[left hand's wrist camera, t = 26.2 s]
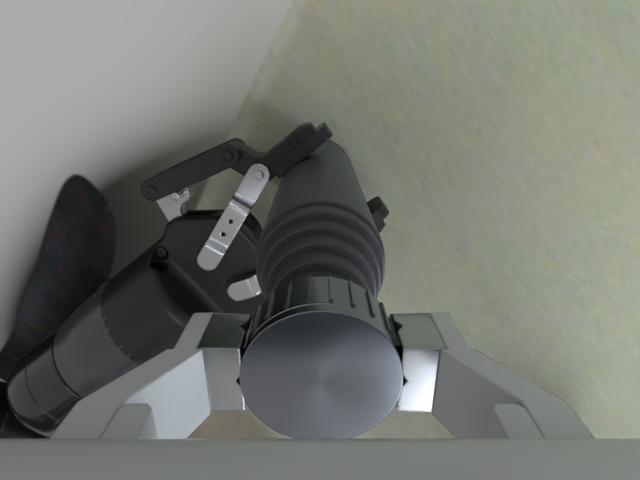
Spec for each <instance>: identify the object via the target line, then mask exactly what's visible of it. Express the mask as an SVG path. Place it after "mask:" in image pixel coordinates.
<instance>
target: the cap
mask: <svg viewBox="0 0 640 480" xmlns="http://www.w3.org/2000/svg"><path fill="white" fill-rule="evenodd" d="M398 348H399V342H398V339H397V335H396V331H395V328H394V325H393V322H392V319H391V318H389V317H388V315H387V313H386V311H385V307H384V304H383V303H382V302H381V303H380V302H379V301H378V300H377V299H376V298H375V297H374V296H373V295H372V294H371V292H370V290H368V289H367V290H365V289H364V288H362V287H360V286H359V285H357V284H354V283H353V281H351V280H349V281H347V280H343V279H340V278H334V277H332V276H329V277H323V276H320V277H311V276H307V278H303V279H299V280H296V281H293V282H290V281H289V282H287V284H286V285H284V286H282V287H280V288H279V289H277V290H276V291H274V292H273V291H272V292H270V295H269V296H268V297H267V298H266V299H265V301H264V302H263V303H262V304H261V305H258V306H257V309H256V313H255V316H254V319H253V321H251V325H250V328H249V330H247V333H246V342H245V346H244V354H243V357H242V361H241V365H240V372H239V382H240V387H241V391H242V394H243V397H244V399H245V401H246V403H247V405H248V407H249V408H250V409H251V411H252V412H253V413H254V414H255V416H256V417H257V418H258V419H259V420H260V421H262V422H263V423H264V424H265V425H267V426H268V427H270V428H271V429H273V430H275V431H277V432H279V433H281V434H283V435H285V436H288V437H291V438H294V439H348V438H352V437H355V436H357V435H360V434H362V433H364V432H366V431H368V430H370V429H371V428H373V427H375V426H376V425H377V424H379V423H380V422H381V421H382V420H383V419H384V418H385V417H386V416H387V415H388V414H389V413H390V412H391V410H392V409H393V408H394V406H395V405H396V403H397V401H398V399H399V396H400V394H401V391H402V386H403V377H404V376H403V366H402V361H401V358H400V354H399V351H398Z"/></svg>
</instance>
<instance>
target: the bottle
mask: <svg viewBox="0 0 640 480" xmlns="http://www.w3.org/2000/svg"><path fill="white" fill-rule="evenodd" d="M384 270H385V254H384V247H383V243H382V240H381V238H380V235H379V233H378V230H377V228H376V225H375V223H374V220H373V217H372V215H371V212H370V210H369V207H368V205H367V202H366V200H365V197H364V195H363V192H362V190H361V187H360V184H359V182H358V179H357V177H356V174H355V172H354V169H353V167H352V164H351V162H350V159H349V157H348V155H347V153H346V152H345V151H344V150H343V149H342V148H341V147H340V146H339V145H337V144H336V143H334V142H332V141H329V140H327V141H326V142H325V143H324V144H322V145H321V146H320V147H318V148H317V149H316V150H315V151H313V152H312V153H311V154H309V155H308V156H307V157H306V158H304V159H303V160H302V161H301V162H299V163H298V164H297V165H295V166H294V167H293V168H291V169H290V170H289V171H288V172H287V173H285V174H284V175H283V177H282V180H281V182H280V185H279V188H278V190H277V193H276V196H275V199H274V201H273V204H272V207H271V209H270V212H269V215H268V217H267V220H266V223H265V226H264V228H263V231H262V234H261V236H260V239H259V242H258V245H257V250H256V276H257V280H258V284H259V287H260V289H261V292H262V294H263V297H264V299H266V298H267V297H268V296H269V295H270V292H272V291H273V292H274V291H276V290H277V289H279V288H280V287H282V286H284V285H286V284H287V282H289V281H290V282H293V281H296V280H299V279H303V278H307V276H311V277H320V276H323V277H329V276H332V277H334V278H340V279H343V280H347V281H349V280H351V281H353V283H354V284H357V285H359V286H360V287H362V288H364V289H365V290H367V289H368V290H370V292H371V294H372V295H373V296H374V297H375V298H377V296H378V293H379V291H380V289H381V286H382V283H383V278H384Z"/></svg>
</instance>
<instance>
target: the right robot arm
mask: <svg viewBox="0 0 640 480" xmlns="http://www.w3.org/2000/svg"><path fill="white" fill-rule="evenodd" d="M331 137H332V132H331V130H330V129H329V128H328V126H327V125H326V124H325V122H324V123H322V124H321V125H320V126H318V127H317V128H315V127H314V125H313V124H312V123H311V122H308V123H304V124H301V125H300V126H299V127H298V128H296V129H295V130H294V131H293V132H292V133H290V134H289V135H288V136H287V137H285V138H284V139H283V140H282V141H280V142H279V143H278V144H277V145H276V146H274V147H273V148H272V149H271V150H269V151H267V152H264V153H260V152H256V151H254V150H253V149H251V148H249V147H248V146H246V144H245V143H244V141H242V140H241V139H238V138H234V139H231V140H229V141H227V142H224V143H222V144H220V145H218V146H216V147H214V148H211V149H209V150H207V151H205V152H203V153H201V154H198V155H196V156H194V157H192V158H190V159H188V160H185V161H183V162H181V163H179V164H177V165H175V166H172V167H170V168H168V169H166V170H164V171H162V172H160V173H158V174H156V175H155V176H153V177H151V178H150V179H148V180H146V181H144V182H143V183H142V185H141V192H142V194H143V196H144V197H145V198H146V199H148V200H151V201H157V203H158V205H159V206H160V208H161V209H162V211H163V213H164V214H165V216H166V218H167V219H168V221H169V223H168V224H167V226H166V228H165V232H164V235H163V237H162V238H161V239H160V240H159V241H158V242H156V243H155V244H154V245H153V246H151V247H150V248H149V249H148V250H146V251H145V252H144V253H143V254H141V255H140V256H139V257H138V258H137V259H135V260H134V261H133V262H132V263H130V264H129V265H128V266H127V267H126V268H124V269H123V270H122V271H121V272H119V273H118V274H117V275H116V276H115V277H113V278H111V279H109V280H108V281H106V282H105V283H103V284H102V285H101V286H100V287H99V289H98V290H97V291H96V292H95V293H93V294H92V295H91V296H90V297H88V298H87V299H86V300H85V301H84V302H83V303H82V304H81V305H80V306H79V307H78V308H77V309H76V310H75V311H74V312H73V314H72V315H71V316H70V317H69V318H68V319H67V320H66V321H65V322H64V323H62V324H61V325H60V326H59V327H57V328H56V329H55V330H54V331H53V332H51V333H50V334H49V335H48V336H46V337H45V338H44V339H43V340H41V341H40V342H39V343H38V344H36V345H35V346H34V347H33V348H32V349H30V350H29V351H28V352H27V353H26V354H25V355H24V356H23V357H22V358H21V359H20V360H19V361H18V362H17V363H16V365H15V366H14V368H13V369H12V371H11V373H10V375H9V378H8V381H7V383H5V382H1V381H0V439H49V438H50V437H51V435H52V434H53V433H54V432H55V430H56V429H57V428H58V426H59V425H60V424H61V422H62V421H63V420H64V419H65V417H66V416H67V415H68V413H69V412H70V411H71V409H72V408H73V407H74V405H75V404H76V403H77V402H78V401H80V400H81V399H83V398H85V397H87V396H88V395H90V394H92V393H93V392H95V391H97V390H99V389H100V388H102V387H104V386H105V385H107V384H109V383H111V382H112V381H114V380H116V379H117V378H119V377H121V376H123V375H124V374H126V373H128V372H129V371H131V370H133V369H135V368H136V367H138V366H140V365H141V364H143V363H145V362H147V361H148V360H150V359H152V358H153V357H155V356H157V355H159V354H160V353H162V352H164V351H165V350H167V349H174V347H175V345H176V343H177V342H178V340H179V338H180V336H181V334H182V333H183V331H184V329H185V327H186V325H187V324H188V322H189V320H190V318H191V317H192V315H193V314H194V313H211V312H213V313H252V315H253V319H254V316H255V313H256V309H257V306H258V305H261V304H262V303H263V302H264V301H265V299H264V297H263V294H262V292H261V289H260V287H259V284H258V280H257V276H256V250H257V245H258V242H259V239H260V236H261V234H262V231H263V230H262V228H261V226H260V224H259V222H258V221H257V219H256V218H255V217H254V216H253V215H252V214H251V213H249V212H250V210H251V209H252V207H253V205H254V204H255V202H256V200H257V199H258V197H259V195H260V194H261V192H262V190H263V189H264V187H265V185H266V184H267V182H268V181H270V180H271V179H272V178H274V177H275V176H277V177H278V178H280V177H281V176H283V175H284V174H285V173H287V172H288V171H289V170H290V169H291V168H293V167H294V166H295V165H297V164H298V163H299V162H301V161H302V160H303V159H304V158H306V157H307V156H308V155H309V154H311V153H312V152H313V151H315V150H316V149H317V148H318V147H320V146H321V145H322V144H324V143H325V142H326V141H327V140H328V139H330V138H331ZM230 167H231V168H232V169H234V170H236V171H237V172H239V173H241V174H242V175H244V176H245V177H244V178H243V180H242V182H241V184H240V185H239V187H238V189H237V191H236V192H235V194H234V196H233V197H232V199H231V200H230V202H229V204H228V205H227V207H226V209H225V210H191V211H187V210H186V208H185V203H186V201H187V200H188V199H189V198H190V197H191V196H192V195H193V194H194V187H193V184H195V183H197V182H199V181H201V180H204V179H206V178H208V177H210V176H212V175H215V174H217V173H219V172H221V171H224V170H226V169H228V168H230ZM367 205H368V207H369V210H370V212H371V215H372V217H373V220H374V223H375V225H376V228H377V230H378V233H380V232H381V230H382V229H383V227H384V226H385V223H384V221H383V219H384V218H385V217H387V215H388V214H389V211H388V209H387V207H386V205H385V204H384V203H383V201H382V200H381V199H380V197H375V198H373V199H372V200H370V201H369V202H367Z"/></svg>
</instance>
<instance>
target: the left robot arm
mask: <svg viewBox="0 0 640 480" xmlns="http://www.w3.org/2000/svg"><path fill="white" fill-rule="evenodd" d="M389 318H391V319H392V322H393V325H394V328H395V331H396V335H397V339H398V342H399V348H398V351H399V354H400V358H401V361H402V366H403V376H404V377H403V386H402V391H401V394H400V396H399V399H398V401H397V403H396V407H397V411H419V412H432V414H433V415H434V416H435V417H436V418H437V419H438V420H439V421H440V422H441V423H442V424H443V425H444V426H445V427H446V428H447V429H448V430H449V431H450V432H451V433H452V434H453V435H454V436H455V437H456V438H457V439H186V438H187V437H188V436H189V435H190V434H191V433H192V432H193V431H194V430H195V429H196V428H197V427H198V426H199V425H200V424H201V423H202V422H203V421H204V420H205V419H206V418H207V417H208V416H209V415H210V412H224V411H246V406H247V403H246V401H245V399H244V397H243V394H242V391H241V387H240V382H239V372H240V365H241V361H242V357H243V354H244V346H245V342H246V333H247V330H249V328H250V325H251V321H253V315H252V313H213V312H211V313H194V314H193V315H192V317H191V318H190V320H189V322H188V324H187V325H186V327H185V329H184V331H183V333H182V334H181V336H180V338H179V340H178V342H177V343H176V345H175V347H174V349H167V350H165V351H164V352H162V353H160V354H159V355H157V356H155V357H153V358H152V359H150V360H148V361H147V362H145V363H143V364H141V365H140V366H138V367H136V368H135V369H133V370H131V371H129V372H128V373H126V374H124V375H123V376H121V377H119V378H117V379H116V380H114V381H112V382H111V383H109V384H107V385H105V386H104V387H102V388H100V389H99V390H97V391H95V392H93V393H92V394H90V395H88V396H87V397H85V398H83V399H81V400H80V401H78V402H77V403H76V404H75V405H74V407H73V408H72V409H71V411H70V412H69V413H68V415H67V416H66V417H65V419H64V420H63V421H62V422H61V424H60V425H59V426H58V428H57V429H56V430H55V432H54V433H53V434H52V435H51V437H50V438H49V439H0V480H640V439H595V438H594V436H593V435H592V434H591V433H590V431H589V430H588V429H587V427H586V426H585V425H584V423H583V422H582V421H581V420H580V418H579V417H578V416H577V414H576V413H575V412H574V410H573V409H572V408H571V407H570V405H569V404H568V403H567V402H566V401H564V400H562V399H560V398H559V397H557V396H555V395H554V394H552V393H550V392H548V391H547V390H545V389H543V388H541V387H540V386H538V385H536V384H535V383H533V382H531V381H529V380H528V379H526V378H524V377H523V376H521V375H519V374H517V373H516V372H514V371H512V370H510V369H509V368H507V367H505V366H504V365H502V364H500V363H498V362H497V361H495V360H493V359H492V358H490V357H488V356H486V355H485V354H483V353H481V352H479V351H478V350H476V349H469V347H468V345H467V343H466V342H465V340H464V338H463V337H462V335H461V333H460V331H459V330H458V328H457V326H456V324H455V323H454V321H453V319H452V317H451V316H450V314H449V313H447V312H442V313H411V314H390V317H389Z"/></svg>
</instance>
